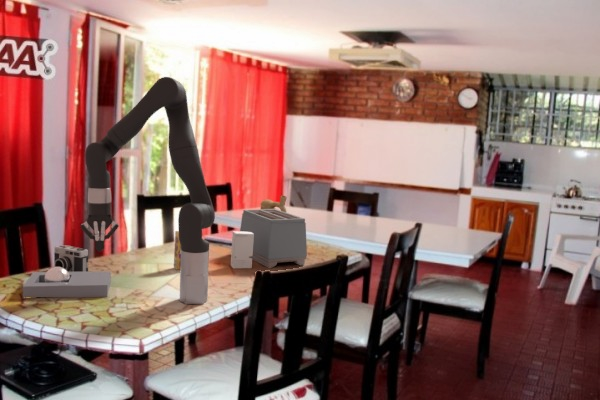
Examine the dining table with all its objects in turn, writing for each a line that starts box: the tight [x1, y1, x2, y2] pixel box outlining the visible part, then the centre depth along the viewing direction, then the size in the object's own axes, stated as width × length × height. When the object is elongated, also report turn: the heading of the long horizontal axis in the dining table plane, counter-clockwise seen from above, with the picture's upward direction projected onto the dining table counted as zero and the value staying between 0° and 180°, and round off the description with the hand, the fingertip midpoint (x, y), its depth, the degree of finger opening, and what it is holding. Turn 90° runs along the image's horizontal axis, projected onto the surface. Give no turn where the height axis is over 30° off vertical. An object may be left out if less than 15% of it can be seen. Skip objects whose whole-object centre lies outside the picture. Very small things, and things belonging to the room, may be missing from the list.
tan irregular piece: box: [260, 195, 288, 213], centre depth 295 cm, size 17×20×25 cm
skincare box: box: [230, 230, 254, 270], centre depth 243 cm, size 8×6×15 cm
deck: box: [22, 270, 112, 299], centre depth 200 cm, size 18×26×4 cm
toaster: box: [239, 208, 308, 269], centre depth 262 cm, size 19×35×20 cm, turn 30°
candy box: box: [173, 230, 181, 271], centre depth 236 cm, size 9×4×15 cm, turn 123°
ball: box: [44, 266, 70, 283], centre depth 199 cm, size 8×8×8 cm
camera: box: [53, 244, 89, 272], centre depth 221 cm, size 14×9×10 cm, turn 58°
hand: (100, 250), depth 200 cm, fingers closed
